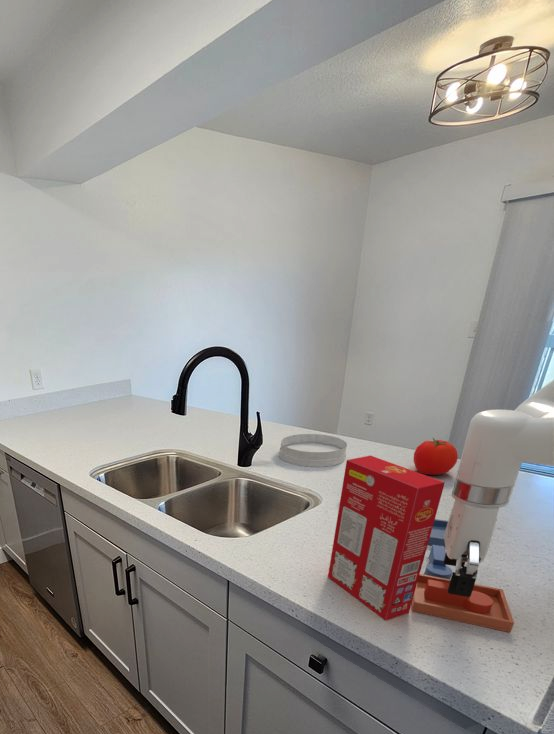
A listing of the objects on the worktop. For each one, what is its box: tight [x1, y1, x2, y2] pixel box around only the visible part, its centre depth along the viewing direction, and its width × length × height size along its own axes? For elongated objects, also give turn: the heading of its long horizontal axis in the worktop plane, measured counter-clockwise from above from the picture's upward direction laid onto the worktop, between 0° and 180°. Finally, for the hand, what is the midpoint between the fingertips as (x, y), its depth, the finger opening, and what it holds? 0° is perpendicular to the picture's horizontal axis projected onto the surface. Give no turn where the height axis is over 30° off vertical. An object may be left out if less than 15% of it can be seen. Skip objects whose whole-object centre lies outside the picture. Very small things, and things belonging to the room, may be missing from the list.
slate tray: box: [427, 518, 448, 549], centre depth 101 cm, size 14×10×2 cm
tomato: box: [413, 437, 459, 476], centre depth 132 cm, size 12×12×10 cm
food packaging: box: [327, 454, 446, 621], centre depth 77 cm, size 15×5×25 cm, turn 20°
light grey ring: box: [279, 433, 348, 468], centre depth 153 cm, size 22×22×5 cm
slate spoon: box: [423, 545, 453, 580], centre depth 88 cm, size 4×10×3 cm, turn 153°
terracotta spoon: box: [424, 579, 493, 614], centre depth 78 cm, size 4×10×3 cm, turn 63°
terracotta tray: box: [411, 573, 515, 633], centre depth 78 cm, size 14×10×2 cm
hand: (455, 579), depth 77 cm, fingers open, 9 cm apart
